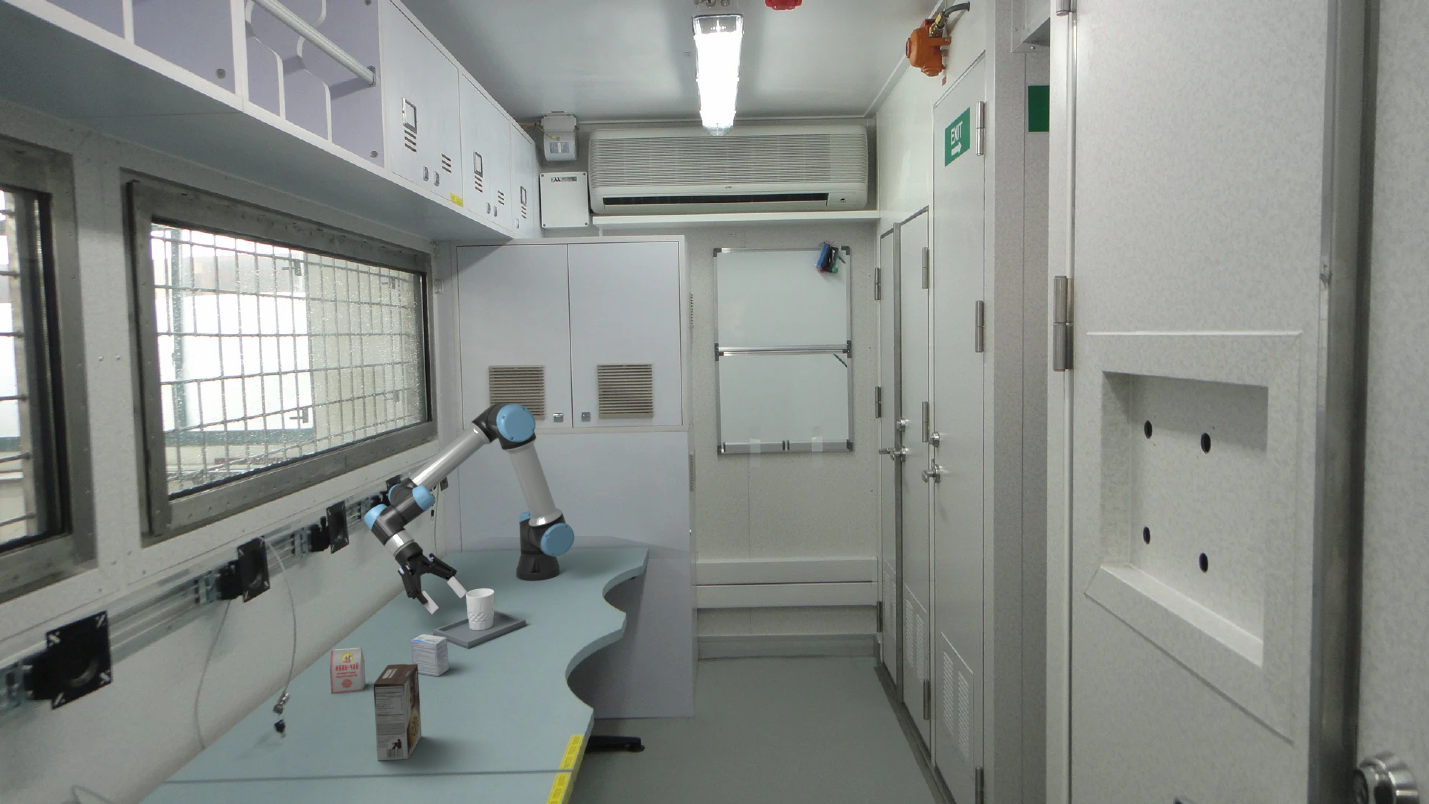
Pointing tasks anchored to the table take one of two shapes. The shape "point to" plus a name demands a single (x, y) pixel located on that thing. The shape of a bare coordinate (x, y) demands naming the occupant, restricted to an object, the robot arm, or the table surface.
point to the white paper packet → (347, 670)
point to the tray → (470, 638)
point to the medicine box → (430, 654)
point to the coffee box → (397, 711)
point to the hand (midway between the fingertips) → (450, 603)
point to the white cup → (480, 608)
